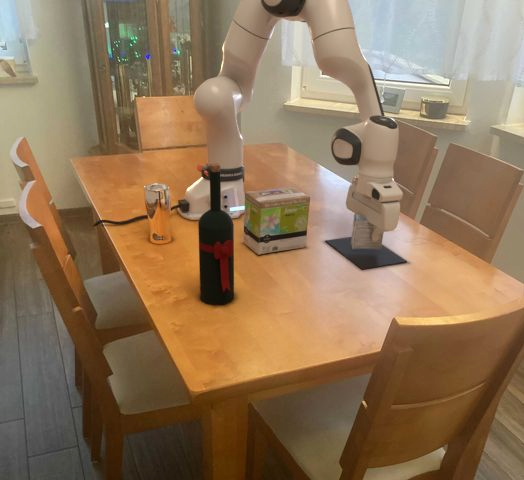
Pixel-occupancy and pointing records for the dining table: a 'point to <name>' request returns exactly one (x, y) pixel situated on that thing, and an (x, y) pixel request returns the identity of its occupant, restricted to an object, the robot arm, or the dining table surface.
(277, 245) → the tea box
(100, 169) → the dining table surface
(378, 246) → the medicine box
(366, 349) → the dining table surface
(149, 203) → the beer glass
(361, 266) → the felt mat
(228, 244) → the wine bottle
